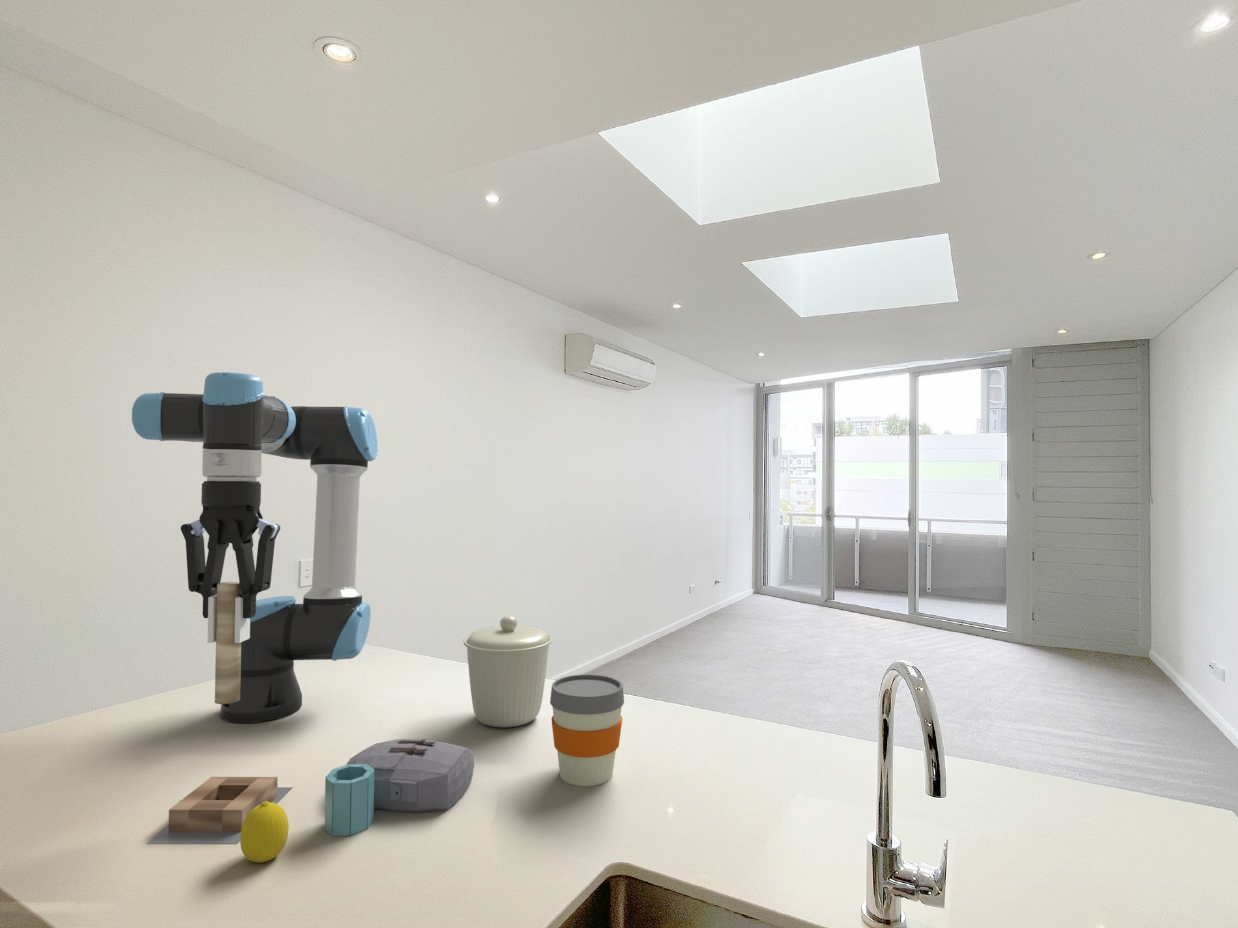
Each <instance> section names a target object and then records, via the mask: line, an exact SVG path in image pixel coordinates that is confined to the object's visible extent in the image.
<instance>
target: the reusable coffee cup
mask: <svg viewBox="0 0 1238 928" xmlns="http://www.w3.org/2000/svg"><path fill="white" fill-rule="evenodd" d="M549 699H550V700H549V703H550V705H551V707H552V714H553V715H552V717H551V728H552V736H553V739H552V740H553V746H554V748H555V750H556V751H557V752H556V753H557V761H558V770H559V777H560V779H561V780H562V781H563V780H564V781H563V782H565V783H567V784H570V785H572V786H573V785H574V786H579V787H594V786H599V785H602V784H604V783H606V782H608V781H610V780H611V779H612V778H613V772H614V765H615V759H616V752H617V751H616V750H617V749H618V748H619V746H620V740H621V731H622V723H623V716H622V715H621V714H622V707H623V706H624V703H625V696H624V685H623V683H622V682H621V681H620V680H619V679H617V678H615V677H612V676H608V675H603V674H602V675H601V674H590V673H588V674H587V673H585V674H584V673H583V674H573V675H568V676H564V677H563V676H562V677H560V678H558V679H556V680H555V681H553V682H552V684H551V691H550V698H549Z"/></svg>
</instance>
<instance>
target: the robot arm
mask: <svg viewBox="0 0 1238 928" xmlns="http://www.w3.org/2000/svg"><path fill="white" fill-rule="evenodd" d="M131 422H132V425H133V428H134V430H135V433H136V434H137V435H138V436H139V437H141V438H142V439H145V440H151V441H160V442H166V441H175V442H177V441H179V442H190V443H191V442H192V443H203V444H202V471H201V472H202V473H201V474H202V476H203V477H205V478H206V480H204V481H203V483H201V501H200V502H201V507H202V511H201V513H200V515H199V519H197V520H195V521H192V522H190V523H184V524H183V523H182V525H181V526H180V531H181V534H182V536H183V538H184V541H185V553H186V554H185V555H186V567H187V569H186V571H187V573H186V574H187V587H188V590H189V592H191V593H193V592H195V593H197V594H200V595H201V597H202V617H203V619H207V643H209V644H210V643H211V644H213V643H216V613H217V584H218V583H222V581H221V580H222V576H223V569H224V564H225V560H226V559H225V558H226V553H227V550H228V548H229V546H230V544H231V546H232V550H233V551H234V553H235V561H236V568H237V575H238V580H239V581H238V582H239V583H240V590H241V594H238V595H239V597H236V598H235V643H241V682H240V700H239V701H237V702H234V703H229V704H220V717H221V719H222V720H224V721H226V722H229V723H238V724H239V723H242V724H246V723H247V724H249V723H260V722H265V721H266V722H267V721H272V720H276V719H281V718H283V717H287V716H289V715H291V714H293V713H296V712H298V711H299V709H300V710H301V708H302V706H303V694H302V690H301V688H300V685H299V682H298V679H297V676H296V673H295V670H294V669H295V667H294V664H295V663H294V661H321V660H323V661H325V660H331V661H335V662H336V661H339V660H350V659H354V658H355V657H357V656H358V655H360V653H361V651H362V650H363V648H364V646H365V645H366V644H365V643H366V641H367V637H368V635H369V630H370V624H371V616H372V615H371V606H370V605H369V603H367V602H364V601H363V593H362V592H361V591H359V589H358V588H357V587H356V575H357V574H356V573H357V572H356V571H357V551H358V550H357V548H358V530H359V529H358V527H359V525H358V524H359V506H360V505H359V503H360V484H361V481H360V480H361V476H362V475H363V474H365V472H367V471H368V467H369V465H368V463H369V462H372V461H374V460H376V458H377V454H378V453H377V452H378V437H377V436H378V435H377V430H376V426H375V423H374V420H373V417H372V415H371V414H370V412H369V411H368V410H366V409H364V408H361V407H351V406H346V405H345V406H305V405H303V406H301V405H297V406H295V405H294V406H293V405H292V406H290V404H288V402H286V401H284V400H283V399H280V398H278V397H276V396H274V395H271V396H269V395H265V391H264V384H263V381H262V378H261V377H260V376H258V375H253V374H250V373H241V372H240V373H239V372H224V371H223V372H222V371H221V372H219V371H218V372H212V373H209V374H207V375H206V377H205V379H204V387H203V394H202V393H177V392H176V393H175V392H174V393H172V392H171V393H169V392H165V391H164V392H163V391H161V392H153V393H152V392H151V393H150V392H149V393H148V392H147V393H146V392H145V393H143V394H141V395H139V396H138V397H137V398H136V399H135V401H134V403H133V405H132V408H131ZM262 454H266V455H269V456H276V457H281V458H287V459H292V460H306V461H307V460H309V462H310V463H309V467H310V469H311V470H312V471H313V472H314V473H315V474H316V476H317V477H316V479H317V480H316V497H315V499H316V500H315V513H314V516H315V517H314V518H315V519H314V534H313V535H314V536H313V537H314V538H313V557H312V578H311V588H310V589H309V590H308V591H307V592H306V593H305V594H303V597H302V599H303V601H302V603H296V601H297V600H296V598H295V597H294V596H293V595H280V596H272V597H265V598H261V599H257V595H258V594H259V593H261V592H264V591H267V590H269V589H270V588H271V584H272V574H273V564H274V563H273V562H274V555H275V554H274V552H275V545H276V544H275V543H276V538H277V536H278V535H279V532H280V530H281V525H280V524H279V523H271V522H269V521H266V520H265V519H264V517H263V514H262V513H261V509H260V507H261V503H262V497H261V495H262V483H260V481H259V480H258V481H257V478H260V477H261V476H262ZM257 530H258V533H257V534H258V536H259V537H258V544H257V553H256V561H255V560H254V551H253V547H254V537H253V535H254V534H255V533H256V532H257ZM204 532H206V534H207V535H208V540H207V544H206V545H207V546H206V547H207V549H208V552H207V557H206V551H205V548H206V547H205V537H204ZM255 563H256V564H255Z"/></svg>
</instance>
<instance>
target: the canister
mask: <svg viewBox="0 0 1238 928" xmlns="http://www.w3.org/2000/svg"><path fill="white" fill-rule="evenodd" d="M552 641H553V637H552V635H551V634H549V633H547V632H546V631H544V630H543V629H540V628H538V627H534V626H528V625H521V624H518V620H517V618H516V617H514V616H512V615H506V616H503V617H502V618H501V619H500V621H499V625H494V626H488V627H484V628H480V629H477V630H475V631H473V632H472V633H471V634H470V635H467V636H466V637H464V639H463V642H462V643H463V645H464V646H465V647H466V651H467V652H466V654H467V666H468V674H469V686H470V695H471V703H472V710H473V713H474V716H475V717H476V719H477V720H478V721H479V723H481V724H484V725H485V726H486V725H487V726H489V727H494V728H514V727H519V726H524V725H526V724H528V723H530V722H532V721H533V720H535V719H536V717H537V716H538V715H539V713H540V711H541V707H542V702H543V697H544V691H545V690H544V689H545V682H546V674H547V665H548V658H549V657H548V656H549V648H550V645H551V644H552Z"/></svg>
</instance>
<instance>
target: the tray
mask: <svg viewBox="0 0 1238 928" xmlns="http://www.w3.org/2000/svg"><path fill="white" fill-rule="evenodd" d="M293 788H294V787H289V786H288V787H282V786H281V787H279V786H277V797H276V798H275V799H274V800H273V801H272V802H271V803H276V804H278V803H280V801H281V800H283V798H284V797H286V795H287V794H288V793H289V792H290V791H291V790H292V789H293ZM168 830H169V825H167V826H166V827H165V828H164V829H162V830H161V831H160V832H159V833H157V834H156V835H155V836H153V837H152V839H150V840H149V841H148V842H146V843H145V844H146V845H238V844H239V843H240V834H241V832H168Z"/></svg>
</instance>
